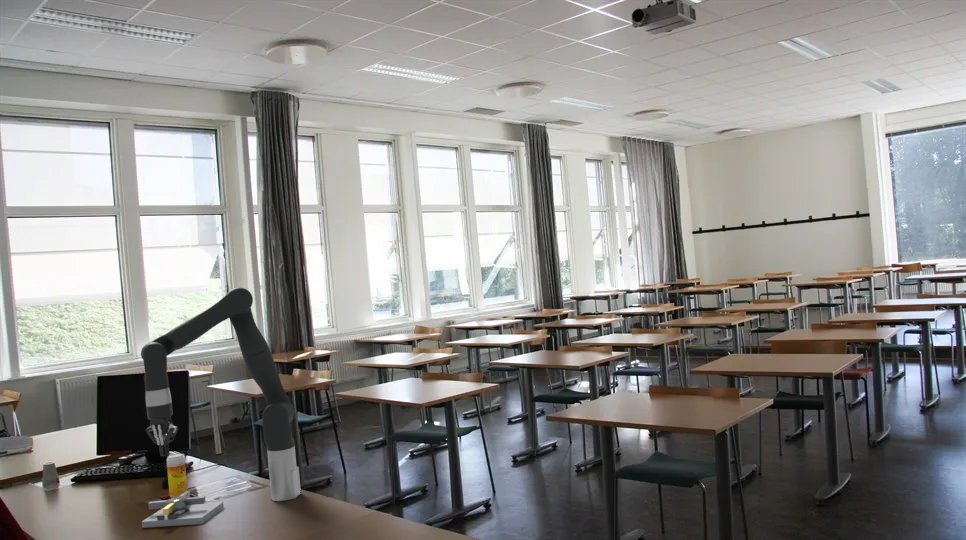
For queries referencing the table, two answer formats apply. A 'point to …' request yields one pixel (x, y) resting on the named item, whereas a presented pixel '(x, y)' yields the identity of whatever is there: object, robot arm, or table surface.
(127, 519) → the table surface
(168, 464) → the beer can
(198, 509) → the stand
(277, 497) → the robot arm
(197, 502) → the valve handle
